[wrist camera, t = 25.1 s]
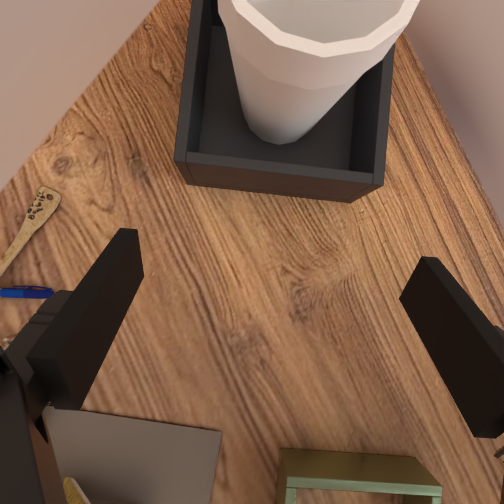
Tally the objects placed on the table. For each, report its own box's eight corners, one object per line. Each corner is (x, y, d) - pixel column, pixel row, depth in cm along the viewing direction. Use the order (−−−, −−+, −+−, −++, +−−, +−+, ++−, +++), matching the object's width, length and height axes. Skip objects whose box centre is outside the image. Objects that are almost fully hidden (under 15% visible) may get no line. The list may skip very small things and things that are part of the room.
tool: (-64, 330, 23) (-40, 343, 23) (-73, 331, 22) (-48, 344, 22) (46, 186, 26) (67, 198, 26) (41, 183, 25) (63, 195, 25)
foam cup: (354, 104, 26) (472, -53, 13) (287, 184, 25) (342, 100, 12) (271, 34, 26) (307, -197, 13) (202, 112, 25) (167, -48, 12)
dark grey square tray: (363, 47, 27) (399, -14, 21) (350, 203, 27) (383, 185, 21) (205, 24, 27) (196, -45, 21) (187, 184, 26) (173, 160, 20)
